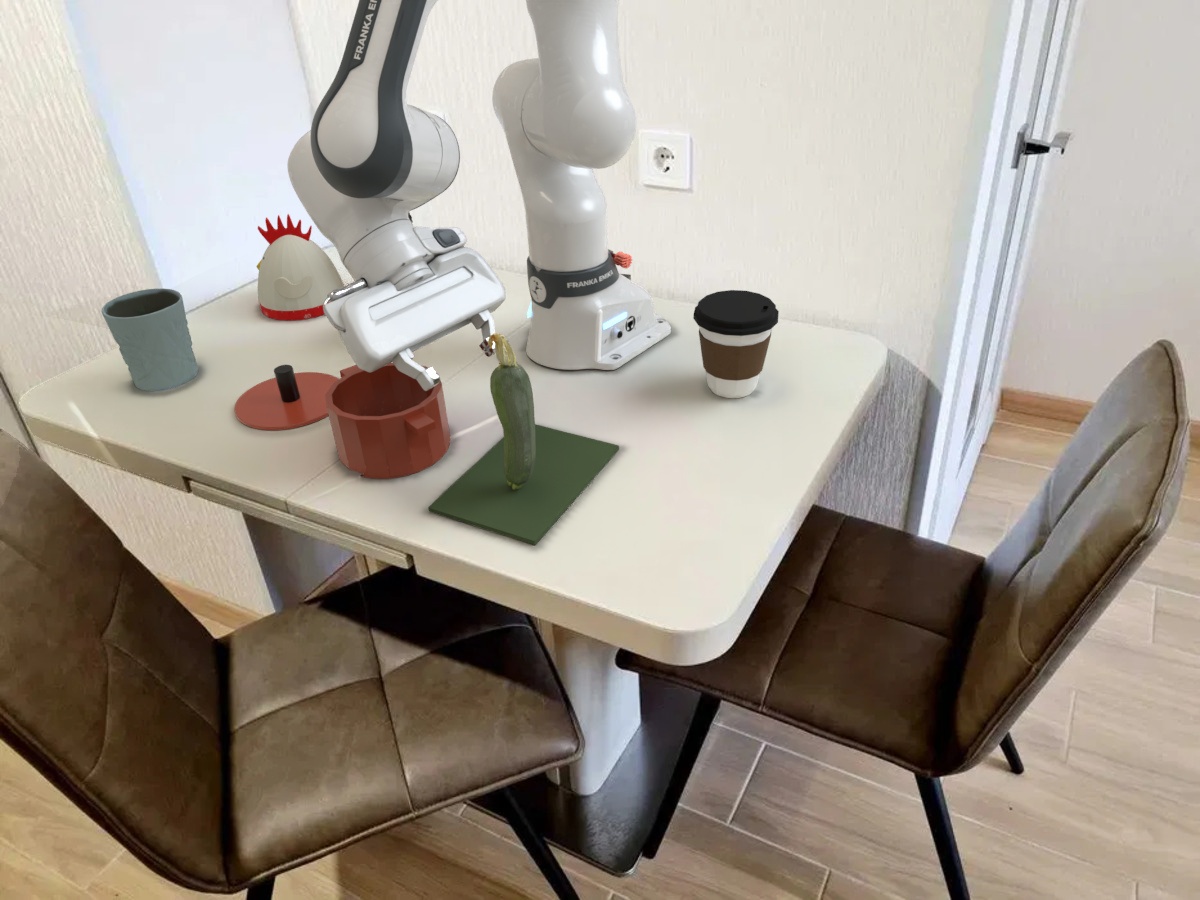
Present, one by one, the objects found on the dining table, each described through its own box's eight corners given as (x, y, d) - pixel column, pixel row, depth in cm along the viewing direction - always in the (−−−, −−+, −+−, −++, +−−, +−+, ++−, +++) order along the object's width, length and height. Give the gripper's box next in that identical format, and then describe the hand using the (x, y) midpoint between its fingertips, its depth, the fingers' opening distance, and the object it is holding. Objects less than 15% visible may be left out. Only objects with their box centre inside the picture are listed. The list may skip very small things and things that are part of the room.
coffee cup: (780, 374, 121) (788, 294, 114) (762, 413, 113) (769, 329, 106) (704, 362, 125) (707, 283, 118) (681, 400, 116) (682, 317, 110)
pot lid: (318, 368, 128) (310, 333, 125) (366, 405, 118) (359, 369, 115) (220, 404, 120) (208, 368, 117) (263, 447, 111) (251, 409, 107)
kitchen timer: (265, 291, 152) (242, 206, 144) (346, 281, 154) (328, 197, 146) (257, 325, 141) (232, 235, 132) (345, 314, 143) (326, 224, 135)
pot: (404, 399, 119) (394, 345, 115) (483, 456, 107) (475, 398, 102) (311, 437, 112) (296, 381, 107) (384, 503, 100) (371, 442, 95)
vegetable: (542, 477, 102) (527, 321, 91) (541, 500, 98) (526, 340, 87) (503, 479, 102) (485, 323, 91) (501, 502, 98) (482, 342, 87)
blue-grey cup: (117, 396, 123) (86, 318, 116) (150, 362, 131) (123, 287, 124) (188, 395, 122) (161, 317, 116) (216, 361, 131) (193, 286, 124)
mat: (521, 424, 113) (521, 420, 113) (619, 449, 107) (619, 445, 107) (428, 511, 98) (427, 507, 98) (535, 545, 93) (535, 541, 92)
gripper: (322, 282, 88) (402, 396, 88) (471, 223, 100) (540, 322, 101) (306, 312, 92) (381, 420, 93) (449, 252, 105) (515, 347, 106)
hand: (465, 369), depth 97 cm, fingers open, 8 cm apart
